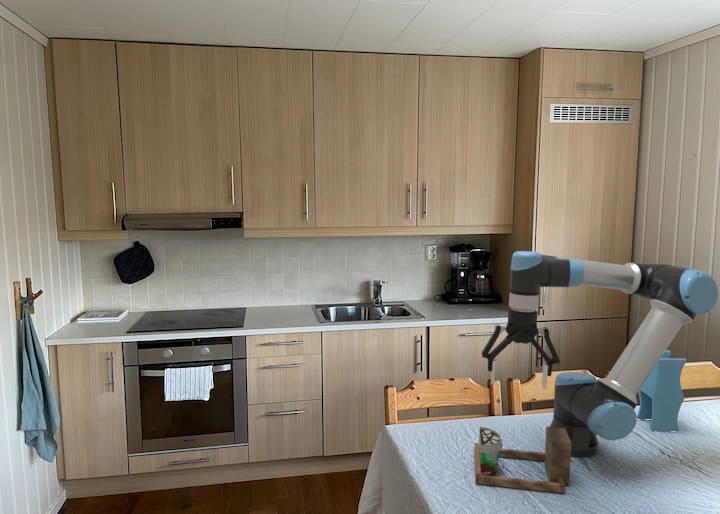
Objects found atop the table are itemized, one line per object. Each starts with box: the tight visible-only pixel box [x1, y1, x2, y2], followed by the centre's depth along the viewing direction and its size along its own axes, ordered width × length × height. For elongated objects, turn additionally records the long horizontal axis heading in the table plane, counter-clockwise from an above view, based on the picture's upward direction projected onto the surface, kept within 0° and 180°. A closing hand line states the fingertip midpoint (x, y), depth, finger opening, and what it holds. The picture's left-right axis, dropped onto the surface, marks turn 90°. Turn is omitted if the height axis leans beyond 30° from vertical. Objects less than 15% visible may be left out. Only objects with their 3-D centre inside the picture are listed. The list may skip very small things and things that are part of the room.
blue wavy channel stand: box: [636, 349, 687, 432], centre depth 174 cm, size 10×10×25 cm
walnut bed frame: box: [473, 426, 572, 494], centre depth 144 cm, size 25×17×12 cm
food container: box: [478, 426, 503, 476], centre depth 146 cm, size 12×6×10 cm, turn 169°
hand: (518, 384), depth 140 cm, fingers open, 13 cm apart
